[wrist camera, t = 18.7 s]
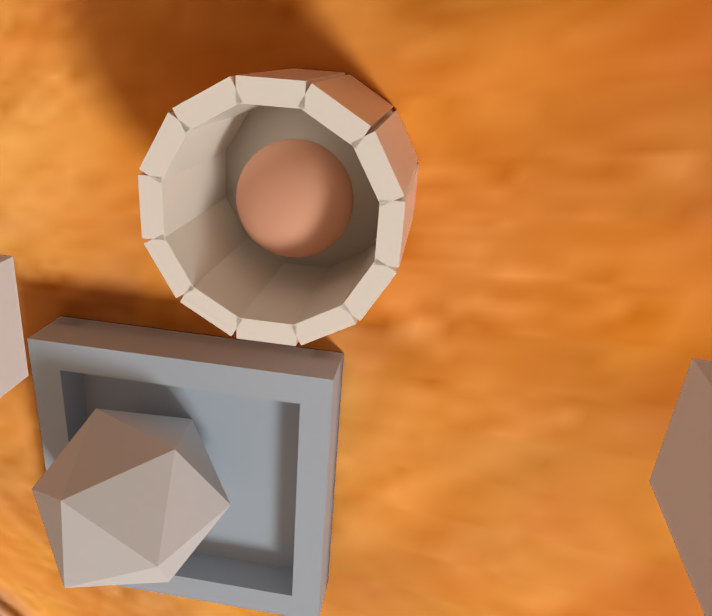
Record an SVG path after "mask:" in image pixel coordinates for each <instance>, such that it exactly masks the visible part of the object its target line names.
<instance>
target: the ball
mask: <svg viewBox="0 0 712 616" xmlns="http://www.w3.org/2000/svg"><path fill="white" fill-rule="evenodd" d="M353 199H354V196H353V188H352V184H351V180H350V178H349V175H348V173H347V171H346V169H345V167H344V166H343V164H342V163H341V162H340V160H339V159H338V158H337V157H336V156H335V155H334V154H333V153H331V152H330V151H329V150H328V149H326V148H324V147H323V146H321V145H319V144H316V143H314V142H311V141H308V140H302V139H286V140H281V141H277V142H274V143H271V144H269V145H267V146H265V147H264V148H262V149H261V150H259V151H258V152H257V153H256V154H254V155H253V156H252V158H251V159H250V160H249V161H248V162H247V164H246V165H245V167H244V169H243V171H242V173H241V175H240V178H239V181H238V185H237V192H236V203H237V210H238V214H239V217H240V220H241V222H242V224H243V226H244V228H245V229H246V231H247V233H248V234H249V235H250V236H251V238H252V239H253V240H254V241H255V242H256V243H258V244H259V245H260V246H261V247H263V248H265V249H266V250H268V251H270V252H272V253H274V254H278V255H281V256H286V257H296V258H298V257H306V256H311V255H314V254H317V253H319V252H321V251H323V250H325V249H327V248H328V247H330V246H331V245H332V244H333V243H334V242H335V241H336V240H338V239H339V237H340V236H341V235H342V234H343V232H344V231H345V229H346V227H347V225H348V223H349V220H350V218H351V214H352V211H353Z"/></svg>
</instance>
